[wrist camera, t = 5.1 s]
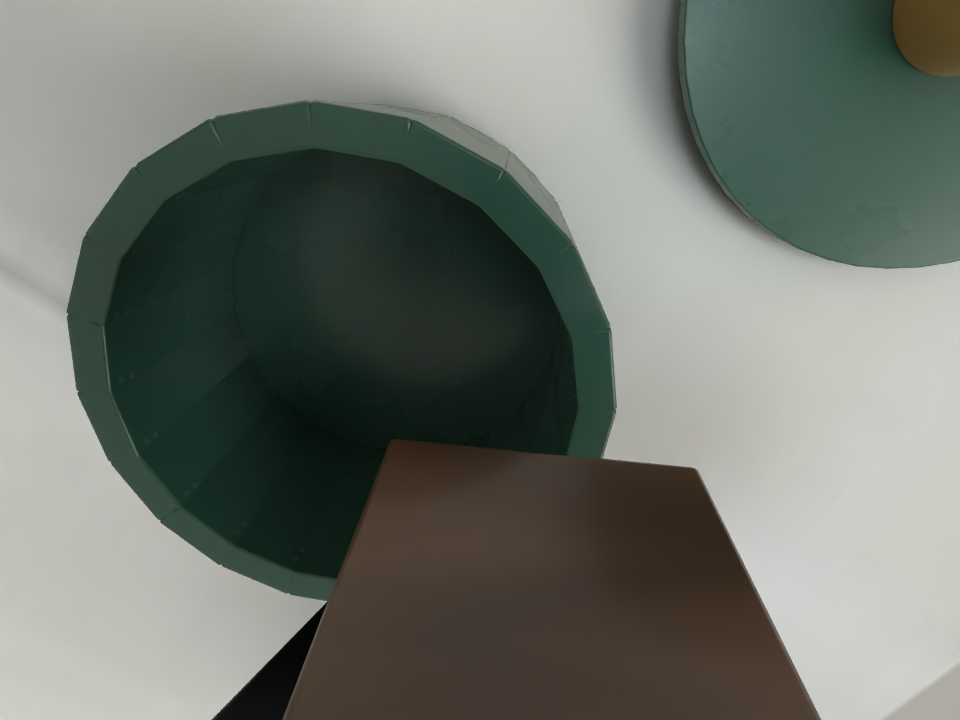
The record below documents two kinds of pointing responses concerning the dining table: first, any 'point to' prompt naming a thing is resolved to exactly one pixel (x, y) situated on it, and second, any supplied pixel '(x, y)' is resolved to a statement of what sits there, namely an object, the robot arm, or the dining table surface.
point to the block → (543, 598)
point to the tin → (326, 324)
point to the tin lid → (832, 121)
